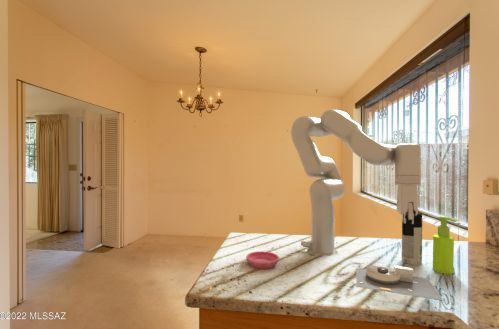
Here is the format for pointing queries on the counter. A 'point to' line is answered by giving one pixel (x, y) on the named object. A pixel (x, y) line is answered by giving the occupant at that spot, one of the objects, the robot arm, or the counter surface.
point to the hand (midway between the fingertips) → (407, 235)
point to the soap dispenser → (443, 248)
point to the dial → (389, 274)
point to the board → (400, 286)
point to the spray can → (413, 243)
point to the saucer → (262, 259)
